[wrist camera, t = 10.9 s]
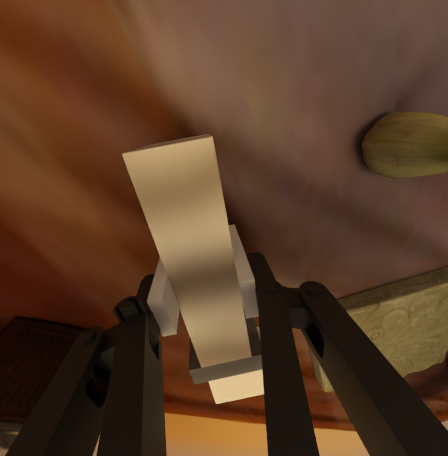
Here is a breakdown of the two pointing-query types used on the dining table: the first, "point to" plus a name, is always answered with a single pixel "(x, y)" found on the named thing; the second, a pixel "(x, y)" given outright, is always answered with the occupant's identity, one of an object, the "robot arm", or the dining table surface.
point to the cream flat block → (238, 386)
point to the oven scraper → (196, 252)
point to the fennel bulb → (407, 145)
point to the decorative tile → (402, 322)
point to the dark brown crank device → (28, 368)
